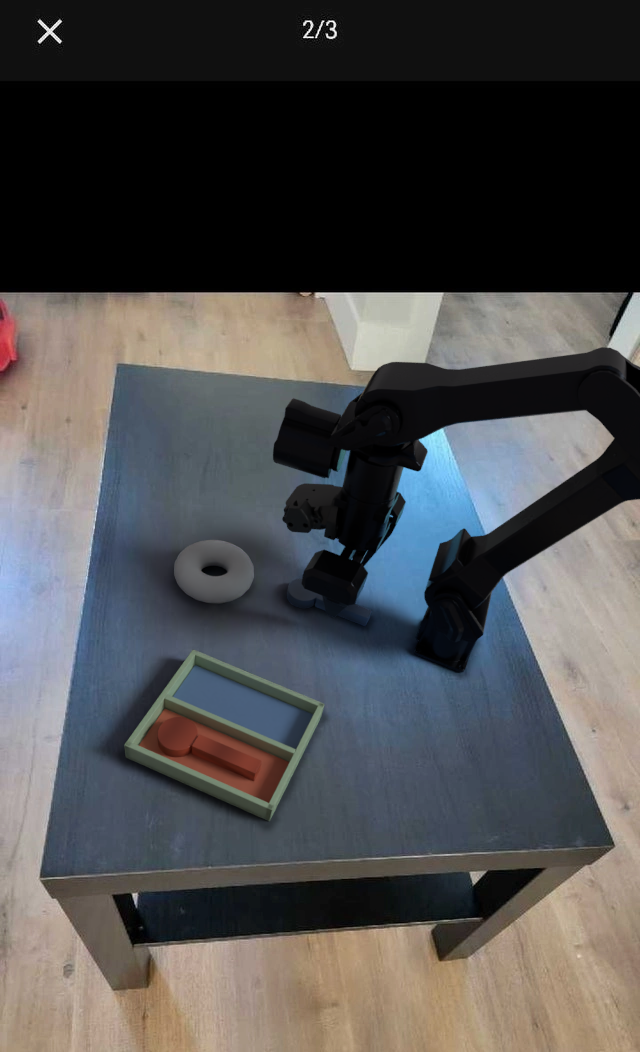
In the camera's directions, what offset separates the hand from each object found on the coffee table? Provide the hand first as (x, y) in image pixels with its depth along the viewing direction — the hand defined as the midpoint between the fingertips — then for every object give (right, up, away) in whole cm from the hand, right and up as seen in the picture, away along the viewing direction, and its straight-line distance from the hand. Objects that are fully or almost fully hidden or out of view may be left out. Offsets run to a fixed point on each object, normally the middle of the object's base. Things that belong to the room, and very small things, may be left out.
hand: (343, 591), depth 84 cm
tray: (-13, -16, -12) cm, 24 cm away
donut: (-17, +1, +3) cm, 17 cm away
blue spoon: (-2, -2, +3) cm, 4 cm away
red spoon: (-14, -18, -14) cm, 27 cm away
